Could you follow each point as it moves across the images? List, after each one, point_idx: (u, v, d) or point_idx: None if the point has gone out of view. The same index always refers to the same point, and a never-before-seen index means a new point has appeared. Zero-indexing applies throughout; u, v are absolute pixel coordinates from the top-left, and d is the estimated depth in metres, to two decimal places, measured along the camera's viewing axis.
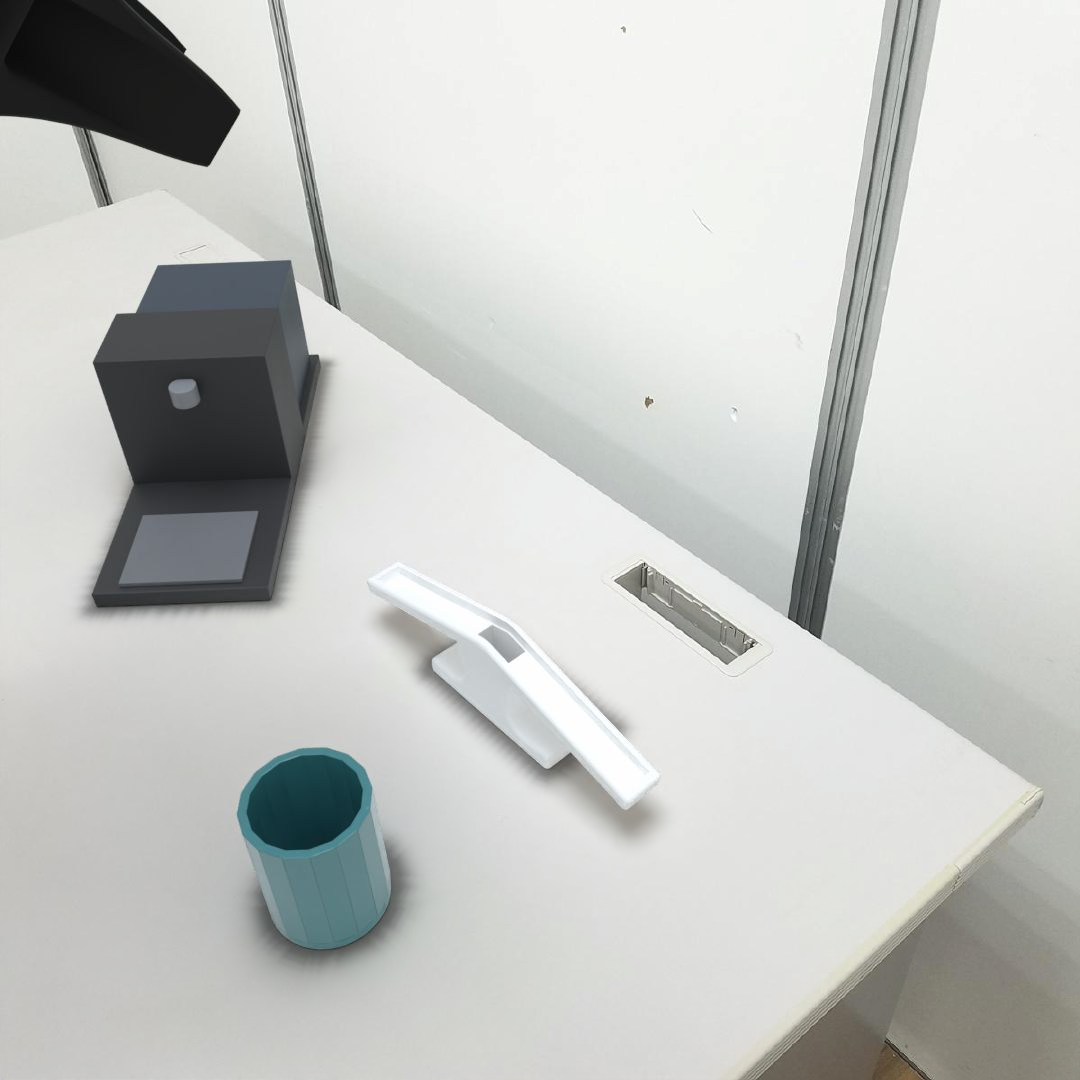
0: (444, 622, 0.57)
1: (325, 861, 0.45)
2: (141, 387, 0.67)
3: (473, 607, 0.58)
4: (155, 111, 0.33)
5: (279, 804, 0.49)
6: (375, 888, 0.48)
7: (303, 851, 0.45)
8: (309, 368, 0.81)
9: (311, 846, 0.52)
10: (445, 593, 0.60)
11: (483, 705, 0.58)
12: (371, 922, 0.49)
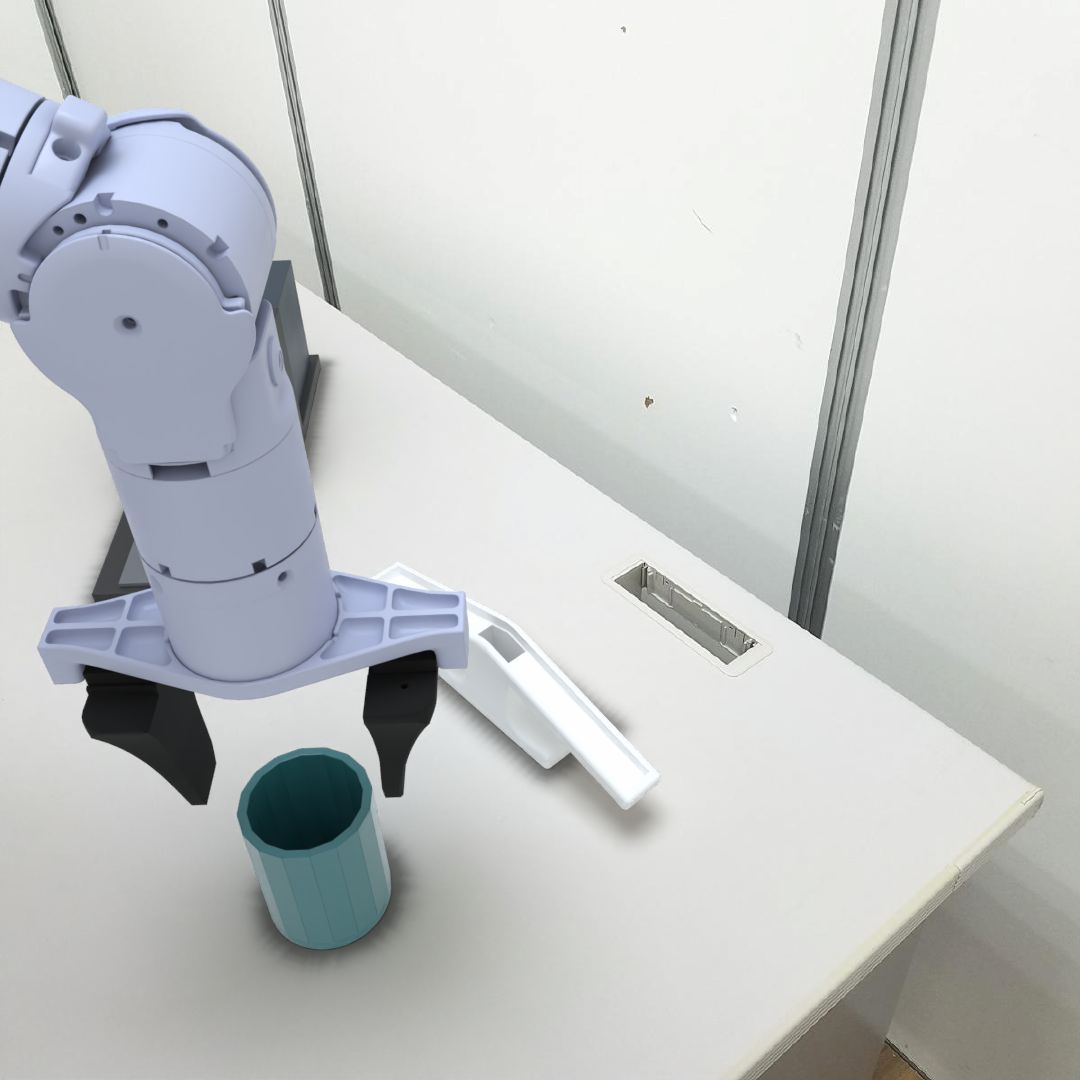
0: None
1: (325, 861, 0.45)
2: None
3: (473, 607, 0.58)
4: None
5: (279, 804, 0.49)
6: (375, 888, 0.48)
7: (303, 851, 0.45)
8: (309, 368, 0.81)
9: (311, 846, 0.52)
10: None
11: (483, 705, 0.58)
12: (371, 922, 0.49)
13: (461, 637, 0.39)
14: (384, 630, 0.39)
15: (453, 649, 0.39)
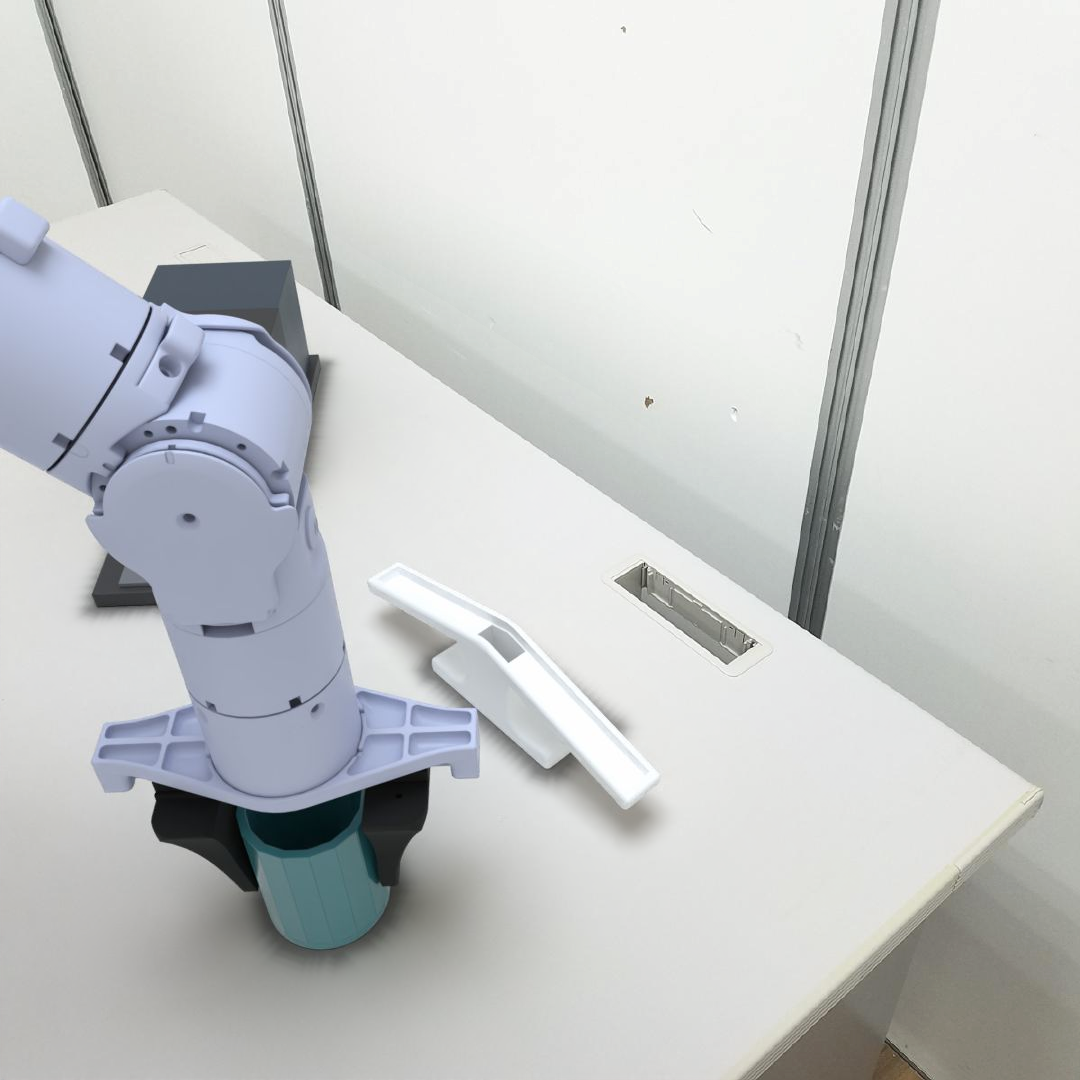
0: (444, 622, 0.57)
1: (324, 861, 0.45)
2: None
3: (473, 607, 0.58)
4: None
5: None
6: (374, 888, 0.48)
7: (302, 851, 0.45)
8: (309, 368, 0.81)
9: (310, 846, 0.52)
10: (445, 593, 0.60)
11: (483, 705, 0.58)
12: (370, 922, 0.49)
13: (473, 753, 0.43)
14: (404, 746, 0.43)
15: (466, 762, 0.43)
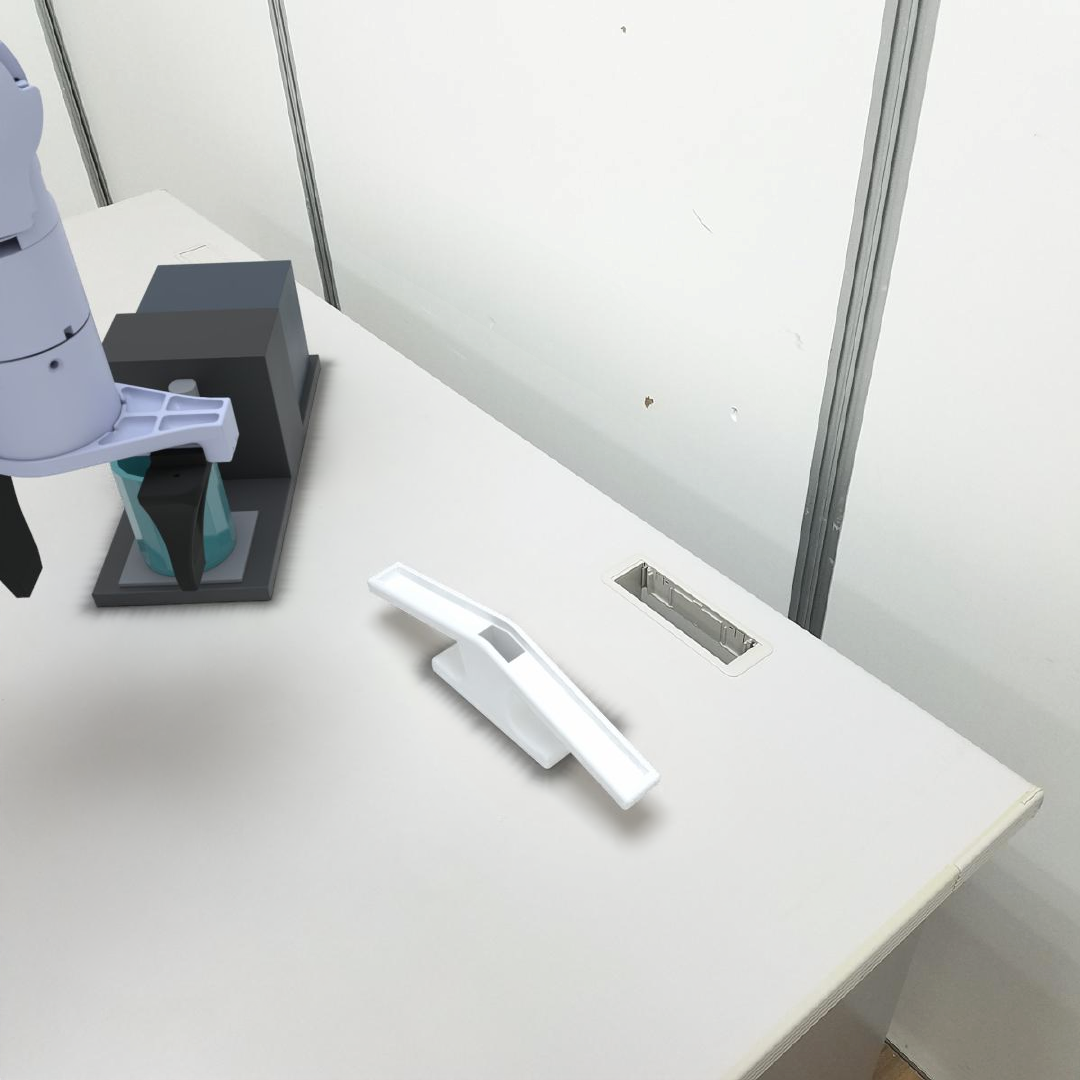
0: (444, 622, 0.57)
1: None
2: None
3: (473, 607, 0.58)
4: (193, 546, 0.51)
5: None
6: (218, 527, 0.64)
7: None
8: (309, 368, 0.81)
9: None
10: (445, 593, 0.60)
11: (483, 705, 0.58)
12: (217, 558, 0.65)
13: (220, 431, 0.46)
14: (155, 424, 0.46)
15: (215, 442, 0.47)
